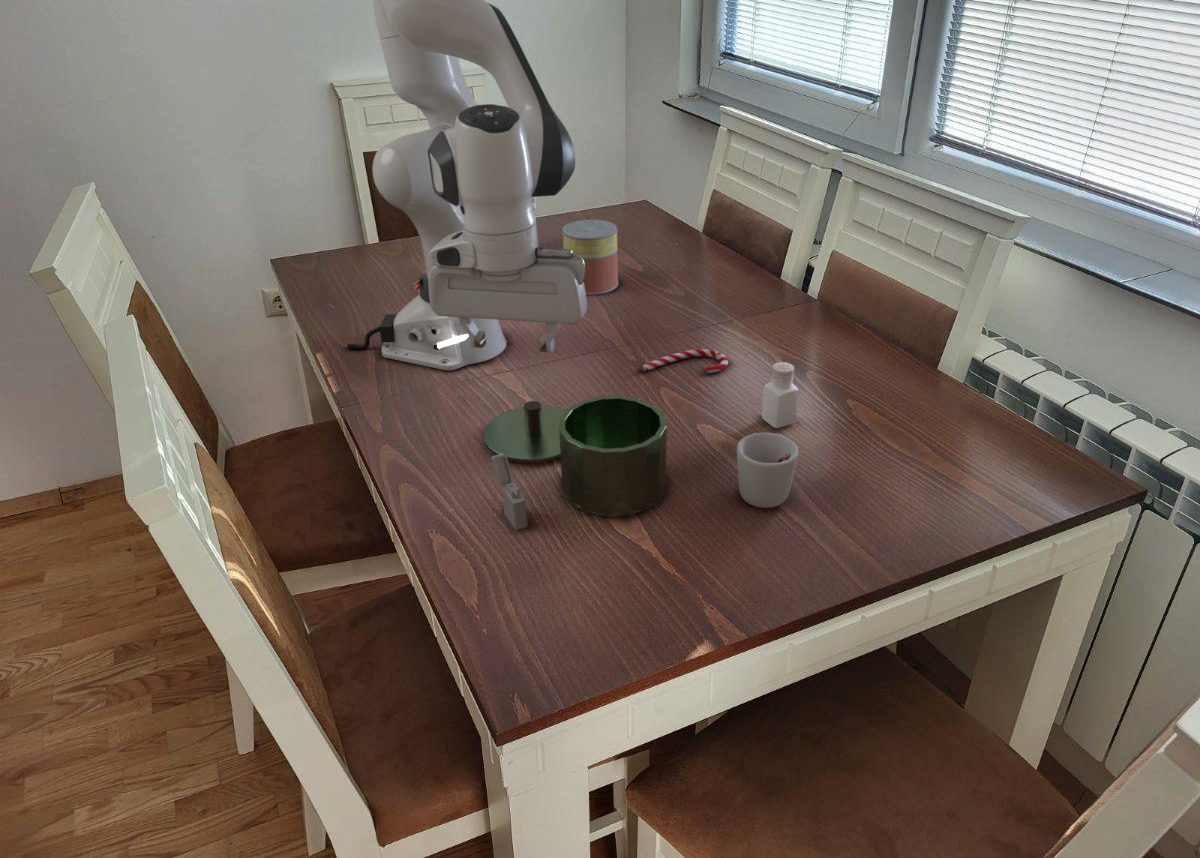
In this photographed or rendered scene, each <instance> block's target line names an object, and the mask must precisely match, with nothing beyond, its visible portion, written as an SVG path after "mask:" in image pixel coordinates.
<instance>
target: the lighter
mask: <svg viewBox="0 0 1200 858" xmlns="http://www.w3.org/2000/svg"><path fill="white" fill-rule="evenodd" d="M490 459H491V463H492V467H493V471H494V475H495V479H496V483H497V486H498V487H501V495H502V503H503V513H504V516H505V517H506V519H507V520H508V522H509V523H510V524H511V525H512V527H513V528H514V530H515V531H518V530H521V529H524V528H527V527H528V525H529V524H528V513H527V501H526V498H525V497H524V496H523V495H522V492H520V489H519V487H518V486H517V485H516V484H515V482H514V481H513V477H512V473H511V469H510V464H509V460H507V456H506V455H505V454H499V455H495V454H494V455H493V456H491V457H490Z"/></svg>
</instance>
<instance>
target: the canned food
mask: <svg viewBox="0 0 1200 858" xmlns="http://www.w3.org/2000/svg"><path fill="white" fill-rule="evenodd" d="M618 230H619V228H618V225H616V224H615V223H614V222H611V221H608V220H604V219H580V220H576V221H571V222H569V223H567V224H565V225H563V227H562V228H561V233H562V249H569V250H572V251H573V253H576V254H578V255H579V256H580V257H581V258H582V259H583V260H584V263H585V280H584V286H585V291H586V296H587V295H588V296H591V295H592V296H594V295H601V294H606V293H610V292H612V291H613V290H615V289H616V288H618V286H619V261H618V259H619V256H618V255H619V254H618ZM572 258H576V257H574V256H573V257H572Z"/></svg>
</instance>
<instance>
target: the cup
mask: <svg viewBox="0 0 1200 858" xmlns="http://www.w3.org/2000/svg"><path fill="white" fill-rule="evenodd" d="M736 445H737V446H736V463H737V480H738V491H739V495H740V496H741V498H742V500H743V501H745V502H746V503H747V504H749V505H751V506H753V507H756V508H760V509H772V508H775V507H776V508H777V507H779V506H781V505H782V504H783V503H784V502H785V501H786V500H787V499H788V497H789V495H790V491H791V487H792V484H793V483H792V482H793V478H794V474H795V470H796V466H797V461H798V457H799V449H798V446H797V445H796V443H795V442H794V441H792V439H790V438H788V437H786V436H784V435H782V434H777V433H773V432H756V433H752V434H748V435H745V436H744V437H742V438H741V439H740V440H739V442H738V443H737V444H736Z"/></svg>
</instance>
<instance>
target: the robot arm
mask: <svg viewBox="0 0 1200 858" xmlns="http://www.w3.org/2000/svg"><path fill="white" fill-rule="evenodd" d="M372 4H373V5H372V6H373V10H374V17H375V22H376V28H377V33H378V37H379V40H380V45H381V49H382V55H383V57H384V62H385V65H386V71H387V74H388V78H389V81H390V85H391V88H392V90H393V92H394V93H395V95H396V96H397V97H398V98H399V99H401V100H402V101H404V102H406V103H407V104H410V105H413V106H415V107H416V108H418V109H419V110H420V111H421V112H422V114H423V116H424V117H425V119H426V121H427V124H428V126H429V129H425V130H422V131H421V130H420V131H418V132H414V133H410V134H406V135H402V136H400V137H398V138H396V139H394V140H392V141H391V142H389V143H387V144H385V145H384V146H382V147H380V148H379V149H377V151H376V152H375V155H374V158H373V162H372V178H373V182H374V185H375V187H376V189H377V191H378V192H379V194H380V196H381V197H382V198H383V199H384V200H385V201H386V202H388V203H389V204H390V205H391V206H393V207H395V208H397V209H399V210H400V211H402V212H403V213H404V214H405V215H406V216H407V217H408V218H409V219H410V221H411V222H412V224H413V225H414V227H415V229H416V231H417V234H418V237H419V240H420V244H421V245H420V246H421V249H422V254H423V260H424V266H425V269H424V270H423V274H422V275H420V276H419V277H418V279H417V281H416V282H415V283H414V285H413V286H414V291H416V292H417V290H419V293H418V295H416V296H415V297H414V298H413V299H412V300H410V301H408V303H407V304H406V305H405V306H403V307H402V308H401V309H400V310H399V312H397V313H386V314H385V315H384V317H383V319H382V321H381V323H380V325H379V326H378V327H375V328H372V329H371V330H369V331H368V332H367V333H365V336H364V343H362V344H356V343H347V345H346V346H347V349H351V350H359V351H360V350H361V351H362V350H364V349H365V350H366V349H367V348H368V347H369V346H370V343H371V337H372V336H373V335H376V334H377V333H379V335H380V341H381V343H382V346H381V356H382V357H383V358H386V359H390V360H395V361H400V362H405V363H410V364H413V365H419V366H423V367H428V368H432V369H438V370H442V371H447V372H448V371H449V372H451V371H455V370H458V369H460V368H462V367H465V366H470V365H474V364H479V363H482V362H486V361H488V360H492V359H493V358H496V357H497V356H499V355H501V354H502V353H503V352H504V350H505V349H506V348H507V344H508V343H507V340H506V337H505V335H504V332H503V330H502V327H501V324H500V321H515V322H533V323H545V328H546V330H549V333H548V334H542V336H541V337H540V339H539V340H538V345H539V352H540V353H547V354H548V353H549V354H551V353H553V351H554V349H555V336H556V334H557V332H558V331H559V329H560V327H561V325H562V324H563V325H564V324H565V325H577V324H578V323H579V322H580V321H581V320H582V319H583V318H584V317H585V315H586V313H587V311H588V299H587V298H588V297H587V295H586V291H585V286H584V280H585V263H584V260H583V259H582V258H581V257H580V256H579V255H578V254H576V253H573V251H572V250H569V249H563V248H562V249H555V248H550V247H549V248H548V247H539V237H538V226H537V225H538V223H537V216H536V213H535V211H533V208H532V203H531V197H536V198H537V197H538V198H539V197H540V198H541V197H553V196H556V195H558V194H559V193H560V192H561V190H562V189H563V188H564V187H565V186H566V185H567V184H568V182H569V181H570V179H571V177H572V176H573V174H574V172H575V169H576V153H575V148H574V144H573V141H572V139H571V135H570V134H569V132H568V129H567V127H566V126H565V125H564V123H563V122H562V121H561V119H560V118H559V116H558V114H556V112H555V110H554V109H553V107H552V106H551V104H550V102H549V101H548V98H547V97H546V94H545V92H544V90H543V89H542V86H541V84H540V82H539V80H538V78H537V76H536V74H535V72H534V70H533V68H532V66H531V64H530V62H529V60H528V58H527V56H526V54H525V52H524V50H523V48H522V46H521V44H520V42H519V40H518V39H517V36H516V35H515V33H514V31H513V28H512V27H511V26H510V23H509V21H508V20H507V18H506V17H505V15H504V14H503V12H502V11H501V10H500V9H499V8H498V7H497V6H495V5H493V4H491V3H489V2H487V1H486V0H372ZM460 59H461V60H465V61H468V62H469V63H472V64H475V65H477V66H479V67H481V68H483V69H484V70H485V71H487V72H488V73H489V74H490V75H491V76H492V77H493V79H494V80H495V82H496V84H497V86H498V88H499V91H500V92H501V94H502V97H503V98H504V101H505V103H506V104H507V105H506V106H505V105H501V104H500V105H499V104H495V103H487V104H479V103H478V102H477V101H476V99H475V98H474V96H473V94H472V92H471V91H470V89H469V87H468V84H467V82H466V80H465V77H464V74H463V71H462V67H461V63H460ZM461 207H463V209H464V213H463V212H462V209H461ZM573 256H574V257H576V258H572V257H573Z"/></svg>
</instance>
